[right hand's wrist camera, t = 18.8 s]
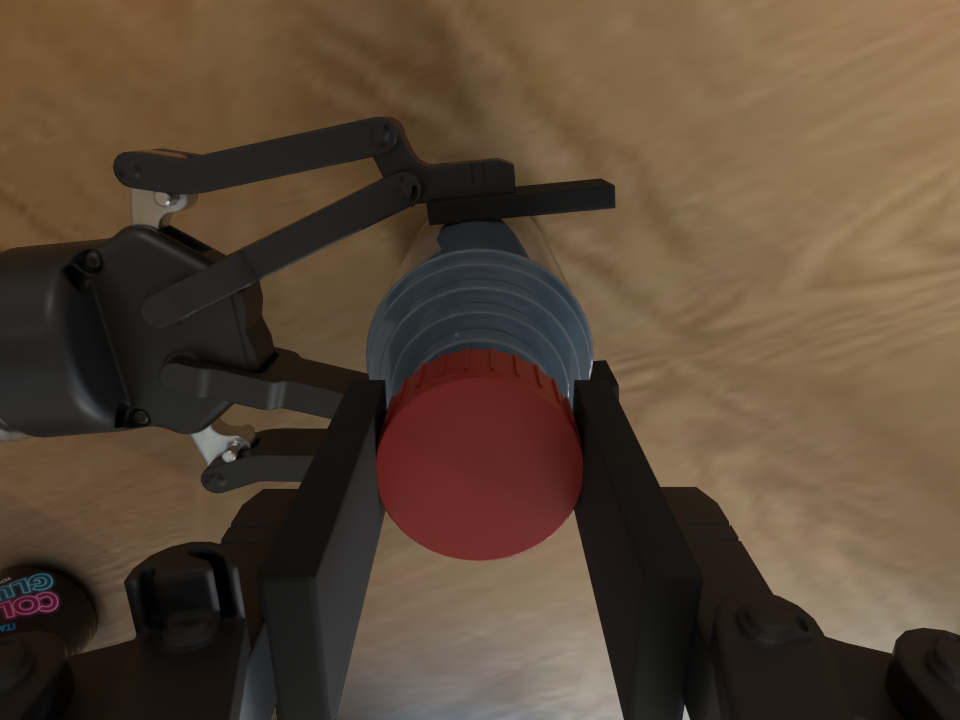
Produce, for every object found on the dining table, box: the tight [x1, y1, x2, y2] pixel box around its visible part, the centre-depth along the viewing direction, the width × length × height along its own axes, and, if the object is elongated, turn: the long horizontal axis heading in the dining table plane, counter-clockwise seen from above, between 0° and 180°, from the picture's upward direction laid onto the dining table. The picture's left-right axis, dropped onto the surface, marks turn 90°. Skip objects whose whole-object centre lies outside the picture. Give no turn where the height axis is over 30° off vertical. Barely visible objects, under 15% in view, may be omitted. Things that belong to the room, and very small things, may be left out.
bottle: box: [366, 216, 593, 412], centre depth 22 cm, size 7×7×19 cm
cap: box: [376, 348, 584, 561], centre depth 14 cm, size 4×4×2 cm
